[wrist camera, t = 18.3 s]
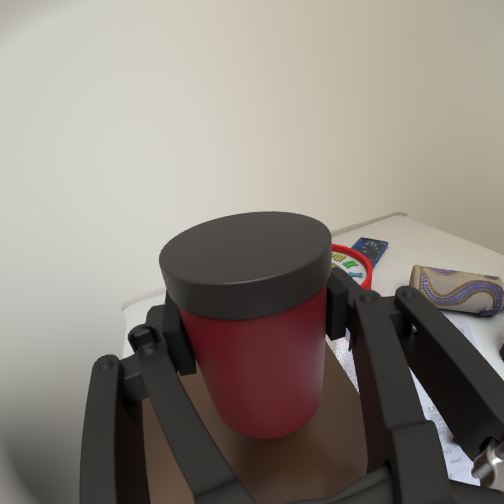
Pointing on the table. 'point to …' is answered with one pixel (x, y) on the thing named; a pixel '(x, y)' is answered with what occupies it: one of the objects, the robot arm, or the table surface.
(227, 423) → the canister
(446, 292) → the decorative bottle
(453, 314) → the table surface
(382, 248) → the smartphone
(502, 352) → the vhs cassette tape
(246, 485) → the shelf
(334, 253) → the toy clock
